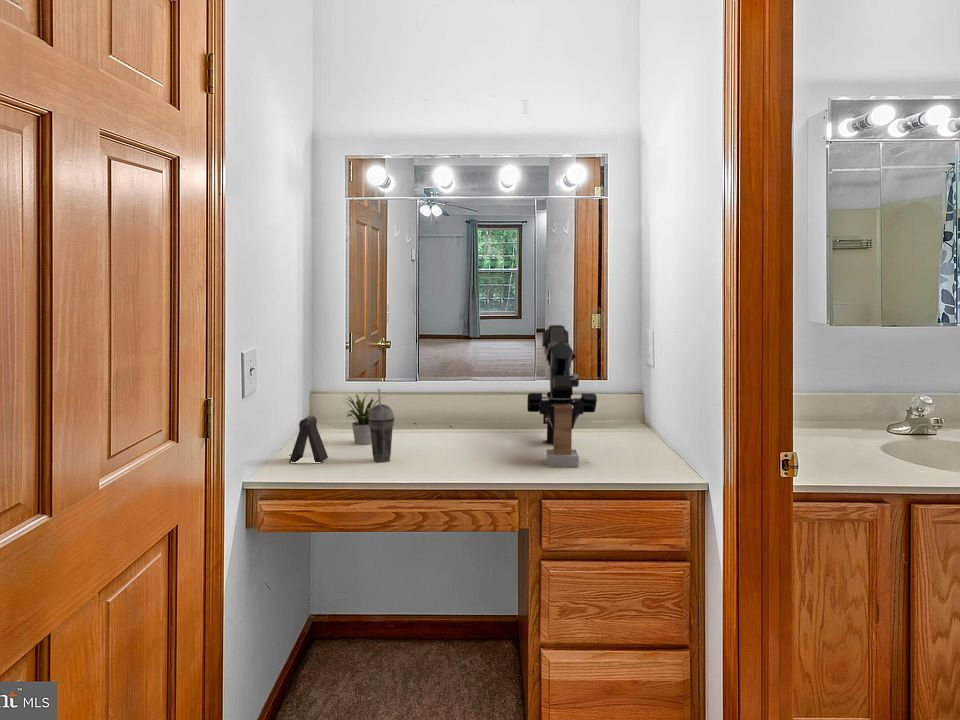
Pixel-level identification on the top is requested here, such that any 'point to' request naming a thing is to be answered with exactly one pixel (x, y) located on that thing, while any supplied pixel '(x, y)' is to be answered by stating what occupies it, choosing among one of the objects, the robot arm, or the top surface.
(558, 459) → the plinth
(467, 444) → the top surface
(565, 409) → the walnut block
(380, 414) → the beverage cup
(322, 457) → the phone stand
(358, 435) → the house plant
